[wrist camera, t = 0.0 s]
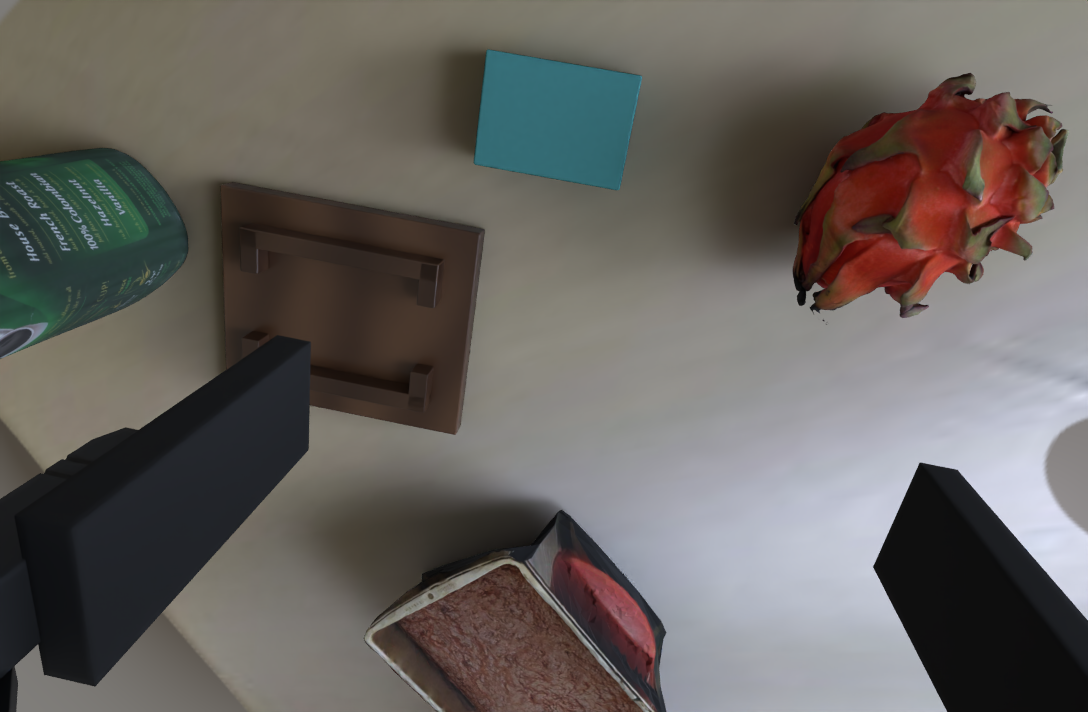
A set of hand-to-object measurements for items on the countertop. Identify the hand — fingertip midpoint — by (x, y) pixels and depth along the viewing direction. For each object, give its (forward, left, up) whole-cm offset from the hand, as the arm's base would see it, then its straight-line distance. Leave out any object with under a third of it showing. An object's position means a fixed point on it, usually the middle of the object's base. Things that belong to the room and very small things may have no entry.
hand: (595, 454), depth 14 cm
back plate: (+6, -14, -22) cm, 26 cm away
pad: (-6, -4, -22) cm, 23 cm away
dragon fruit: (-5, +12, -22) cm, 25 cm away
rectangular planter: (+24, 0, -22) cm, 33 cm away
